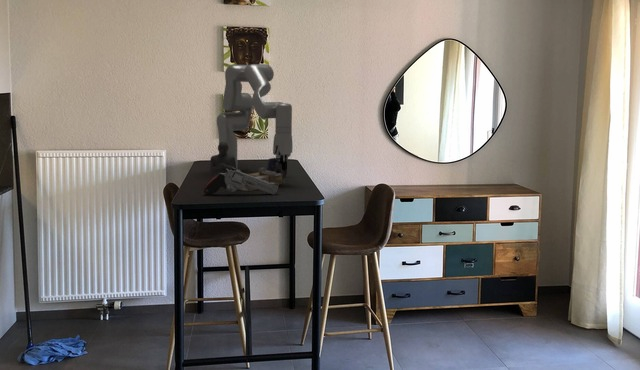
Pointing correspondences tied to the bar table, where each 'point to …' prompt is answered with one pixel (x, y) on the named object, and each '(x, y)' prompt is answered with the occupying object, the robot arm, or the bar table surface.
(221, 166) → the figurine
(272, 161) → the rock
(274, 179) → the wooden latch block
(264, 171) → the bar
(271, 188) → the revolver
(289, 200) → the bar table surface
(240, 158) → the bar table surface
